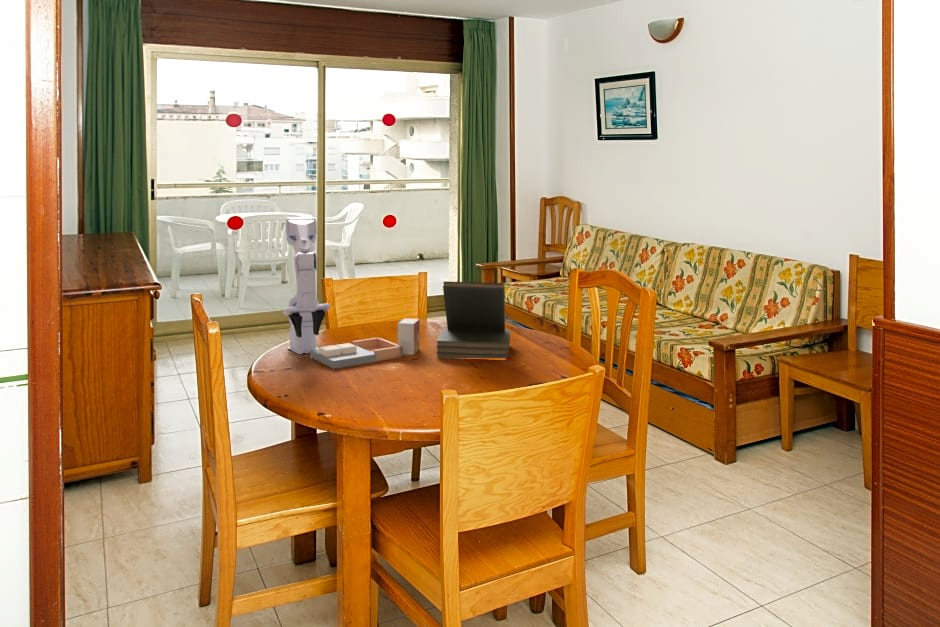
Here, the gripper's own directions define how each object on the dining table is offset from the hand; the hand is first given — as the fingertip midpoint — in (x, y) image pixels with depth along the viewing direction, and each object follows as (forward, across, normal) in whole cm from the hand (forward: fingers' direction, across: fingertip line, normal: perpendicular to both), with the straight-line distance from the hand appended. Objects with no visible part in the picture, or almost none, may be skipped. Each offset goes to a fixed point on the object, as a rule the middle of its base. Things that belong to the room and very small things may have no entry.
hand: (307, 335), depth 244 cm
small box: (+10, +35, -3) cm, 36 cm away
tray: (+9, +24, 0) cm, 26 cm away
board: (+9, +12, 0) cm, 15 cm away
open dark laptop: (+10, +53, -15) cm, 56 cm away
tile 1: (+7, +8, 0) cm, 10 cm away
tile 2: (+7, +13, 0) cm, 15 cm away
